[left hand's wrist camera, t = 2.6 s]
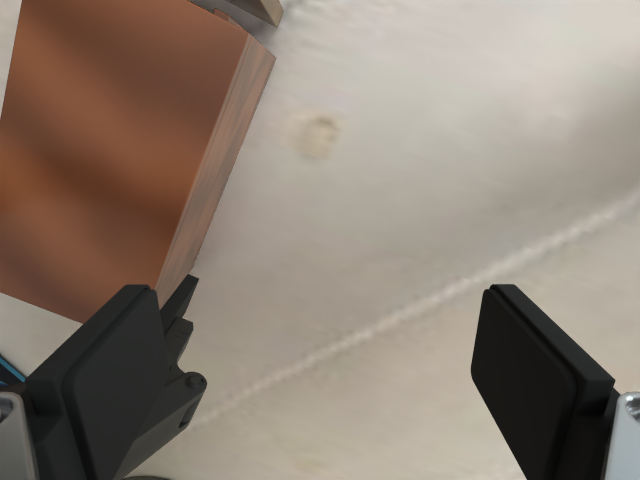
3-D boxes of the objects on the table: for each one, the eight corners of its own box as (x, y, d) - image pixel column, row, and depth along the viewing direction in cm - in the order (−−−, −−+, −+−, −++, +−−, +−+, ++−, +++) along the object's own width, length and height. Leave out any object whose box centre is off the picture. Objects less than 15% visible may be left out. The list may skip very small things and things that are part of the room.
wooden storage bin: (148, -9, 28) (35, -80, 17) (276, 57, 29) (249, 32, 18) (83, 222, 34) (-30, 281, 23) (192, 268, 36) (133, 343, 25)
